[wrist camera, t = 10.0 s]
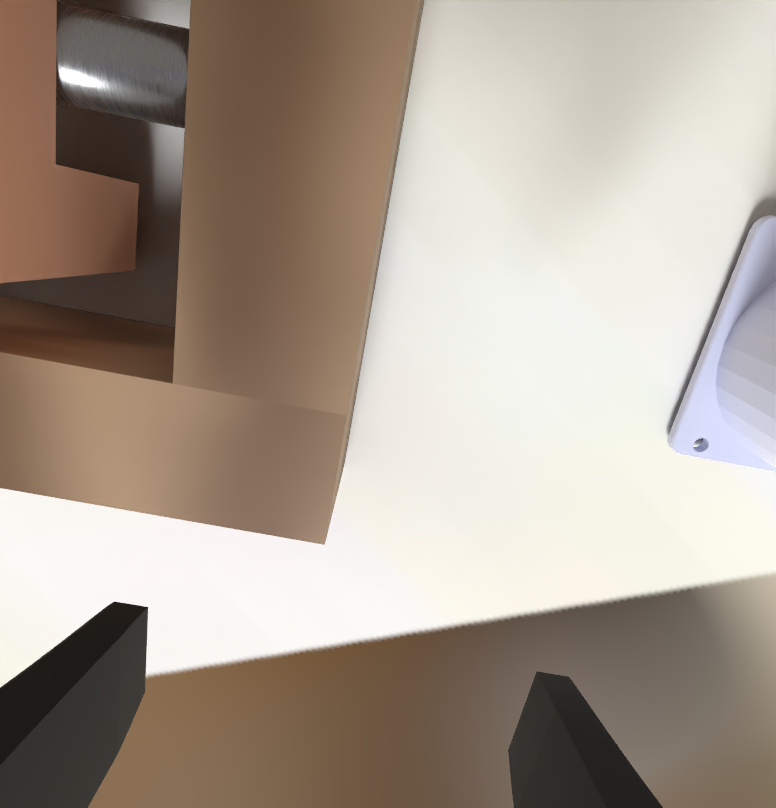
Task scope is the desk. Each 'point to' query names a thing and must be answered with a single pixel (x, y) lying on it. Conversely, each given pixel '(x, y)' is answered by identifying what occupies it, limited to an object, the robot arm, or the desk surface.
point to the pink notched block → (50, 168)
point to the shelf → (224, 267)
